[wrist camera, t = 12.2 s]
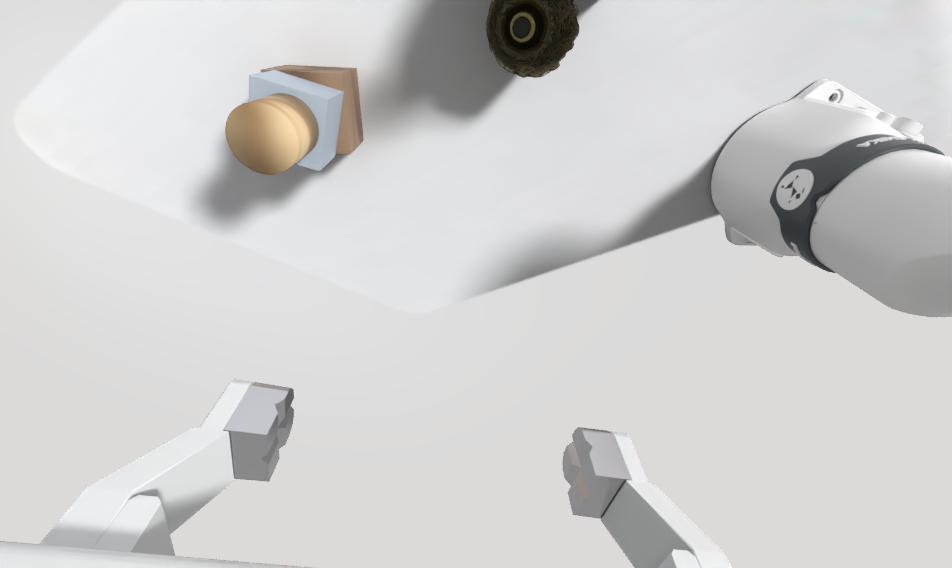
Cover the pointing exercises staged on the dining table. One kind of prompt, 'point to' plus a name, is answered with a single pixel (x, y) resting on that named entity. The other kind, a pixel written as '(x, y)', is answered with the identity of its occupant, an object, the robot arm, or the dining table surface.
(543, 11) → the cup
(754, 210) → the robot arm
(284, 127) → the beech cylinder
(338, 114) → the tower top block
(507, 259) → the dining table surface
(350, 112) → the tower base
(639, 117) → the dining table surface
